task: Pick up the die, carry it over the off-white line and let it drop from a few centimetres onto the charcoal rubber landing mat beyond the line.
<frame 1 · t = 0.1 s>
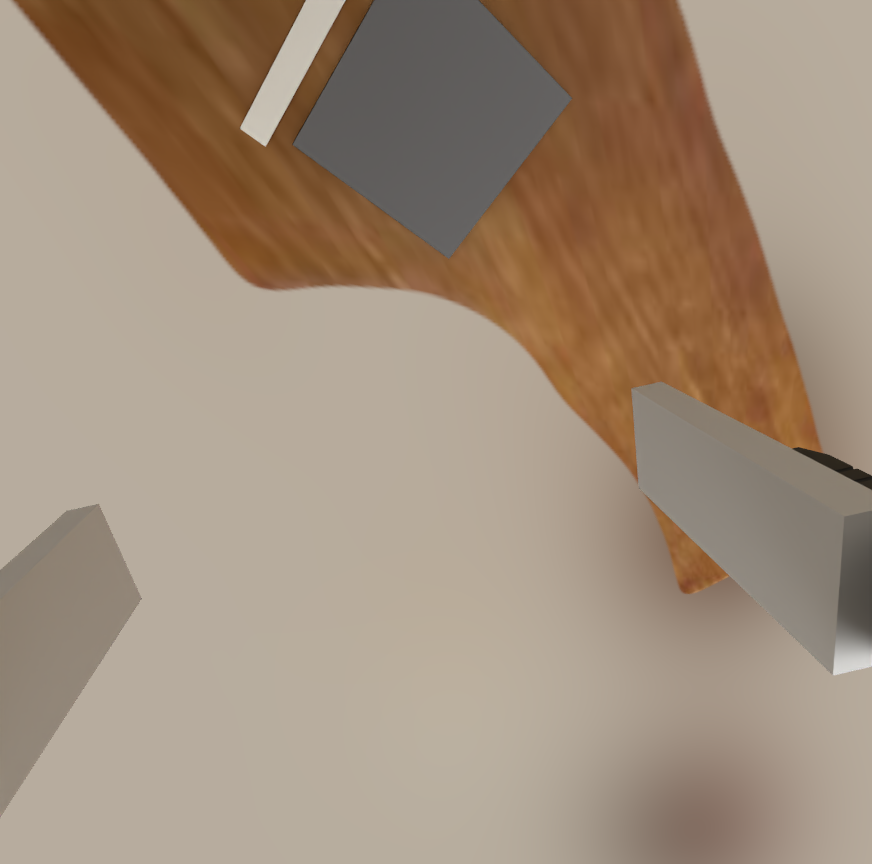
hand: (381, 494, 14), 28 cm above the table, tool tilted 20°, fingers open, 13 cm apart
landing mat: (419, 108, 33), on the table
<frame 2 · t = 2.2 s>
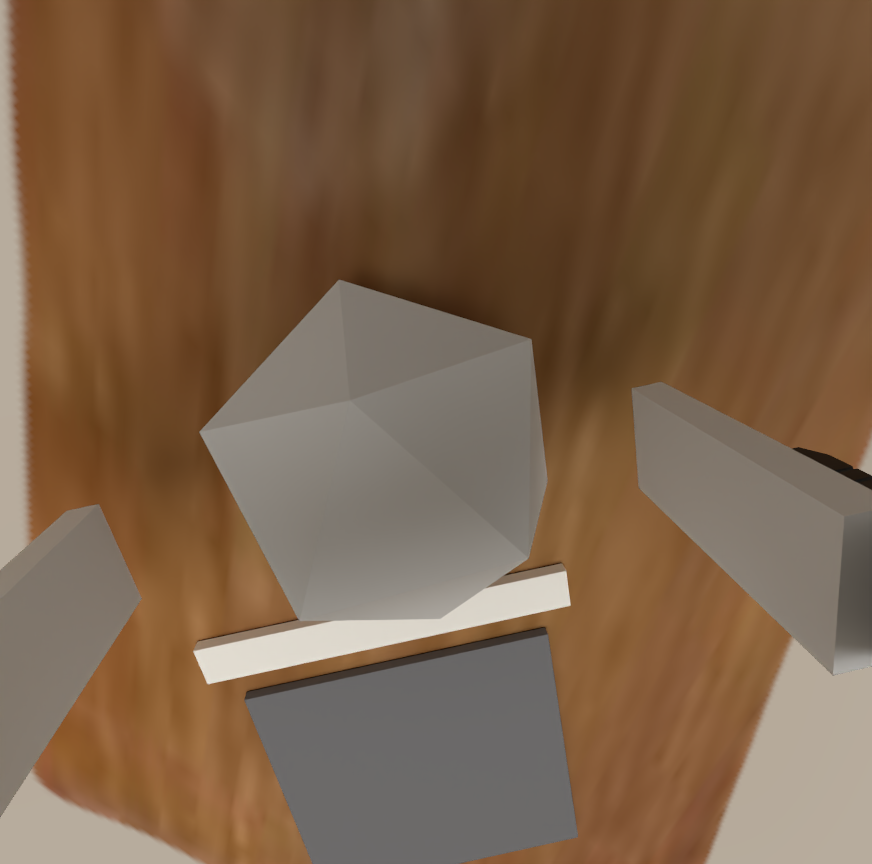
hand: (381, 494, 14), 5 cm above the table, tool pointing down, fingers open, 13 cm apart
die: (391, 411, 19), on the table
landing mat: (421, 749, 24), on the table
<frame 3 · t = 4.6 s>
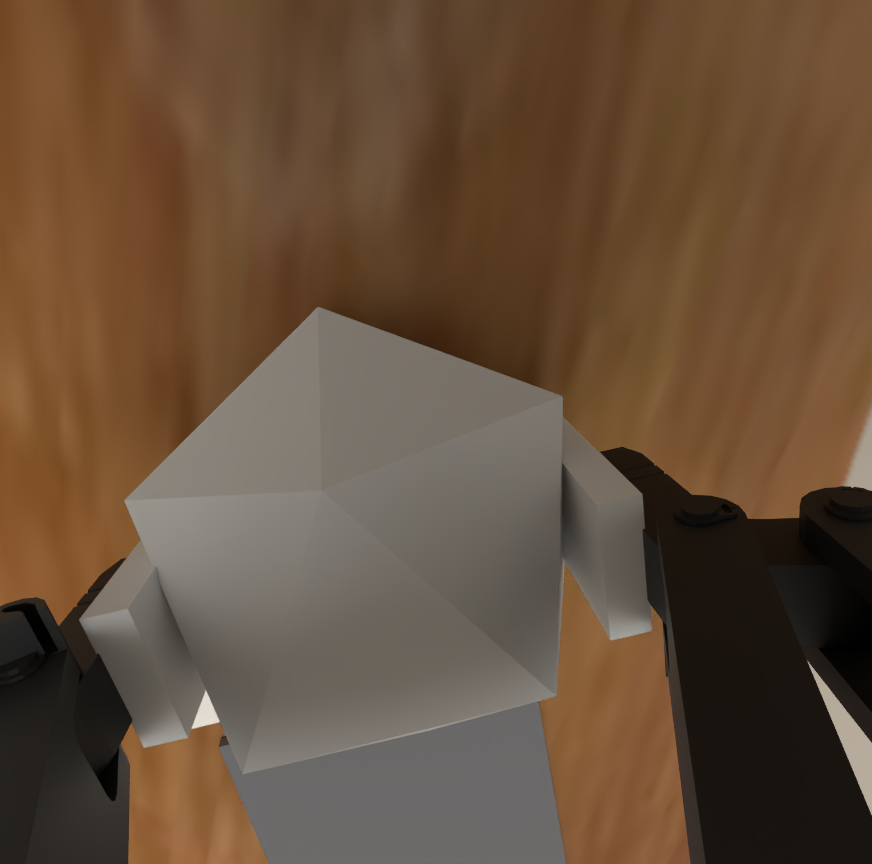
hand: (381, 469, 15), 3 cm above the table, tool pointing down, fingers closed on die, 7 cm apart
die: (376, 460, 16), point 2 cm above the table, touching gripper
landing mat: (405, 793, 23), on the table
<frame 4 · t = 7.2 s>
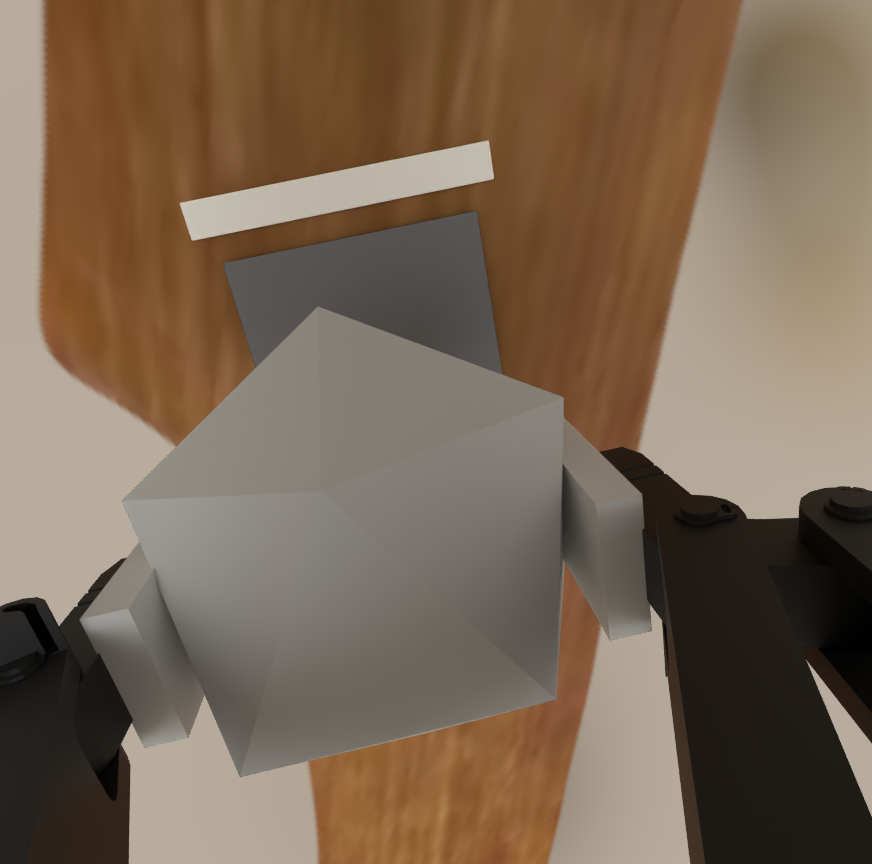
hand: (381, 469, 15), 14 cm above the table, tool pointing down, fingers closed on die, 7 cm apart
die: (376, 460, 16), point 14 cm above the table, touching gripper
landing mat: (375, 340, 28), on the table
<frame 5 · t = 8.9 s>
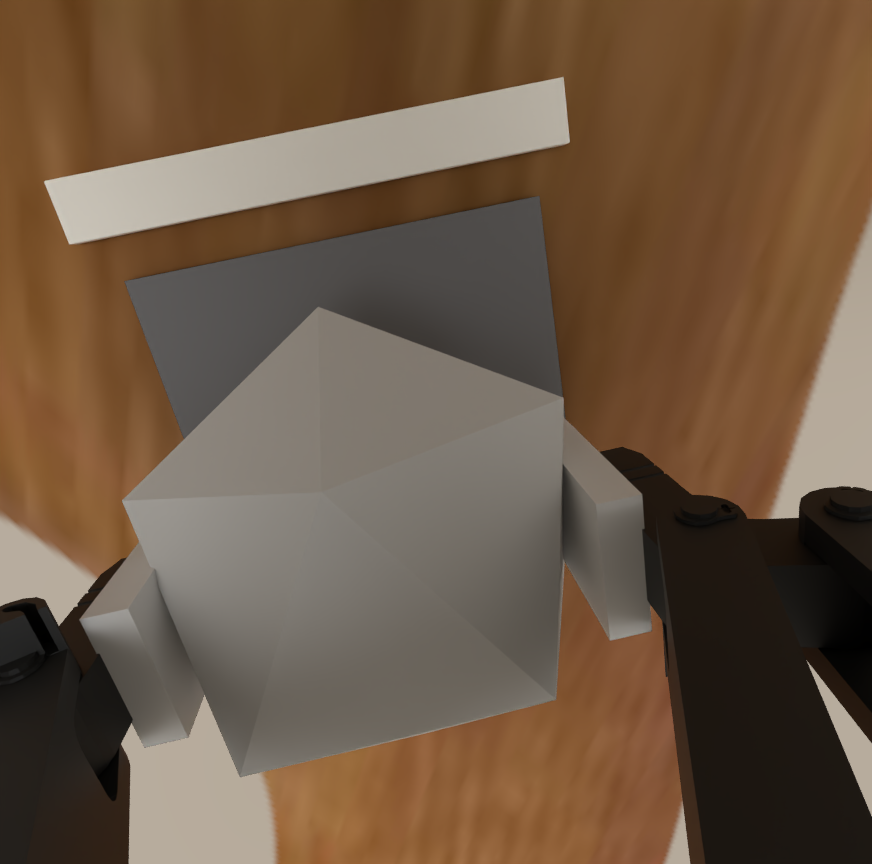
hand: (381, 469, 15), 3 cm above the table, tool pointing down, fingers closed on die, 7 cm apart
die: (376, 460, 16), point 3 cm above the table, touching gripper
landing mat: (374, 399, 18), on the table
when the fingers open (2 cm above the table, at t = 9.9 s): die drops 2 cm, resting on landing mat.
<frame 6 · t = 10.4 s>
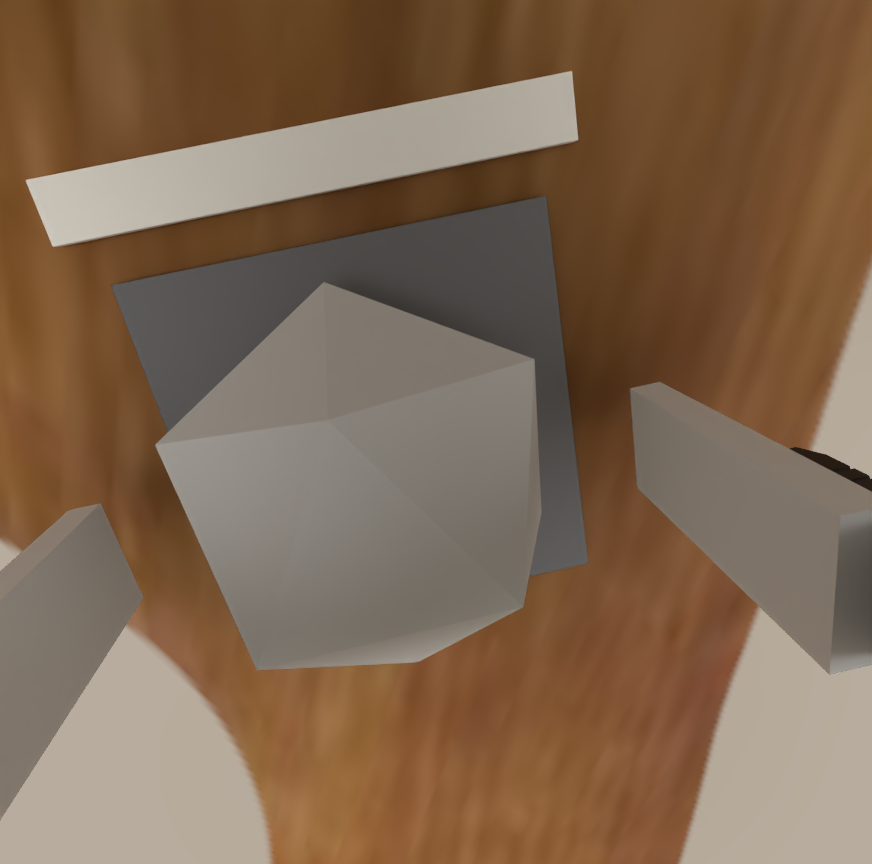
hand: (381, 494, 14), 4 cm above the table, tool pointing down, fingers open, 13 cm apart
die: (374, 428, 17), resting on landing mat
landing mat: (373, 408, 17), on the table
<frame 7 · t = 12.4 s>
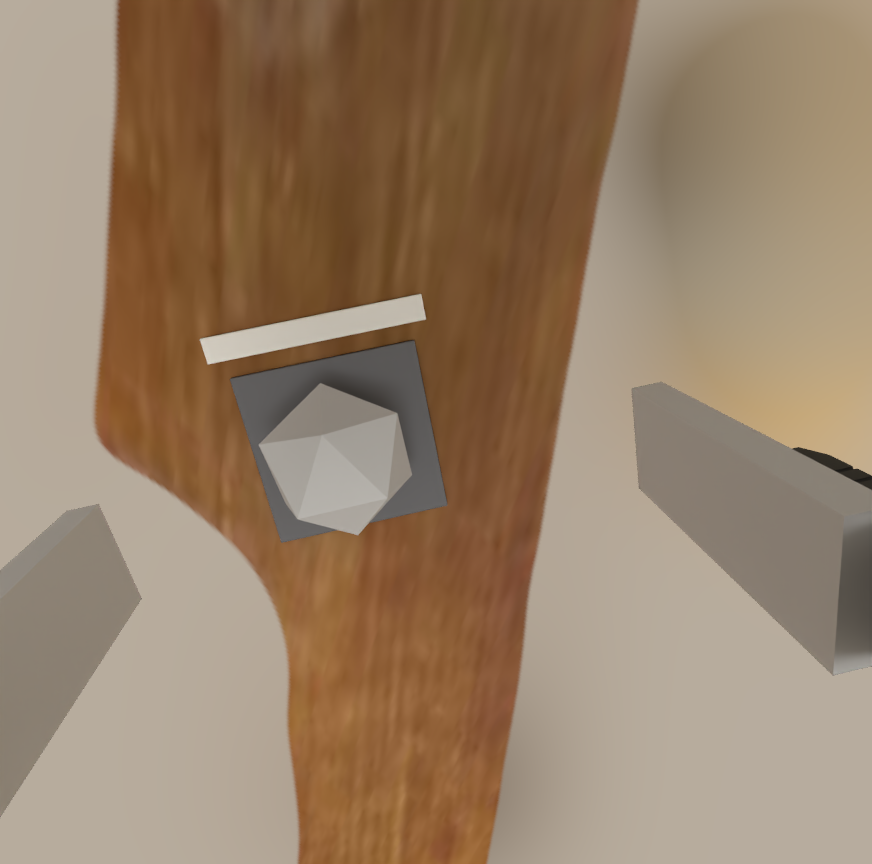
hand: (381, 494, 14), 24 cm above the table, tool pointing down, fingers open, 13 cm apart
die: (342, 439, 38), resting on landing mat
landing mat: (341, 430, 38), on the table
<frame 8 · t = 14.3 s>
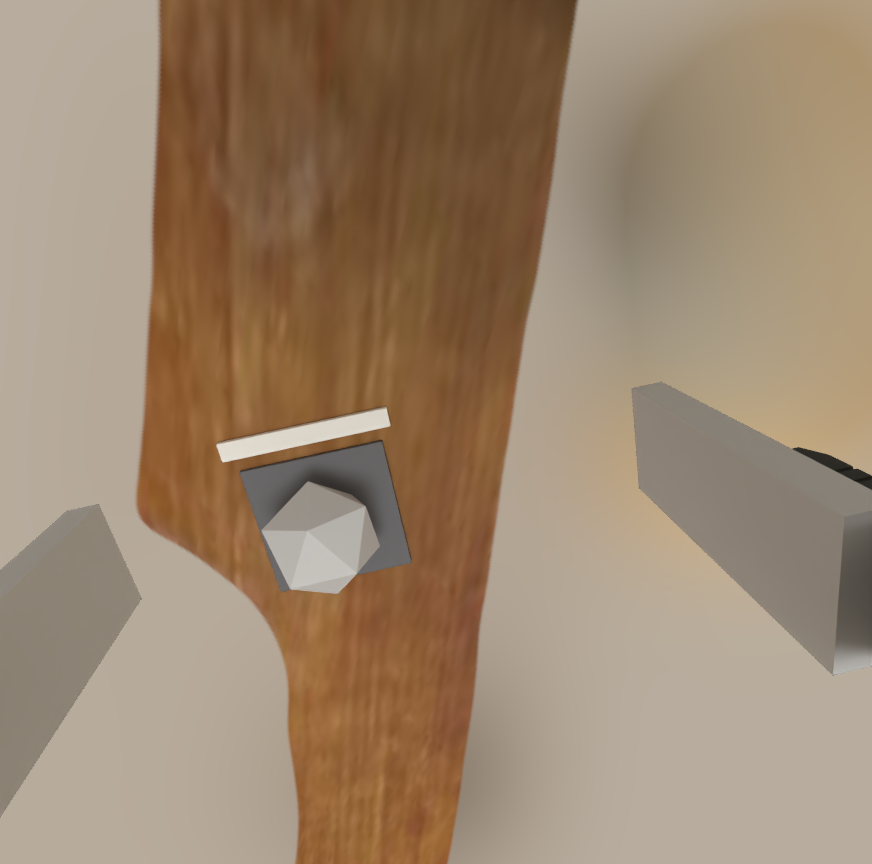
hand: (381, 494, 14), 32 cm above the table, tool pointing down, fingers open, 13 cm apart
die: (327, 514, 48), resting on landing mat
landing mat: (326, 507, 48), on the table
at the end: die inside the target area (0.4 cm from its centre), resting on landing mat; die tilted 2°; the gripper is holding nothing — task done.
